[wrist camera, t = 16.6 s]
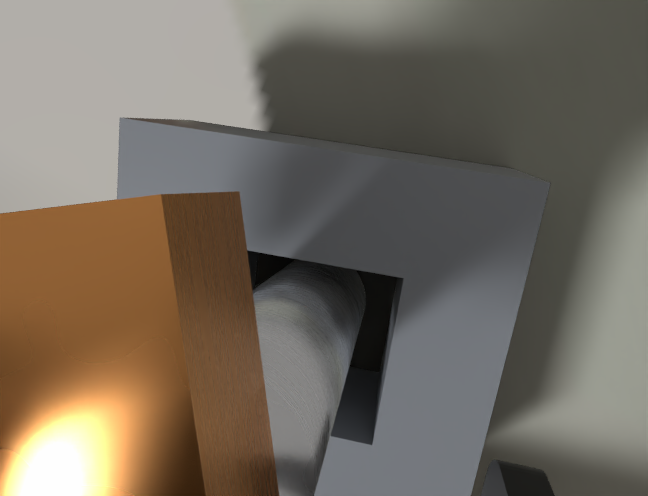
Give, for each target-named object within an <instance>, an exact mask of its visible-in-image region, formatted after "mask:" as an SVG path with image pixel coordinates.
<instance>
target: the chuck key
mask: <svg viewBox="0 0 648 496" xmlns="http://www.w3.org/2000/svg"><path fill="white" fill-rule="evenodd" d="M365 306H366V293H365V288H364V285H363V282H362V280H361V278H360V276H359V274H358V273H357V271H356V270H355V269H349V268H343V267H338V266H332V265H327V264H321V263H315V262H310V261H304V260H299V259H296V260H294V261H293V262H291V263H290V264H288V265H287V266H286V267H284V268H283V269H282V270H280V271H279V272H277V273H276V274H275V275H273V276H272V277H270V278H269V279H268V280H266V281H265V282H263V283H262V284H261V285H259V286H258V287H256V288H255V289H254V290H252V283H251V276H250V268H249V260H248V253H247V245H246V238H245V230H244V222H243V215H242V207H241V200H240V192H239V191H235V192H208V193H181V194H159V195H151V196H142V197H134V198H126V199H117V200H109V201H101V202H93V203H84V204H76V205H69V206H61V207H51V208H43V209H35V210H27V211H18V212H10V213H2V214H0V496H314V494H315V491H316V487H317V483H318V480H319V476H320V472H321V469H322V465H323V461H324V458H325V454H326V450H327V447H328V443H329V439H330V436H331V432H332V428H333V425H334V421H335V417H336V414H337V410H338V406H339V403H340V399H341V395H342V391H343V388H344V384H345V380H346V377H347V373H348V369H349V366H350V362H351V358H352V355H353V351H354V347H355V344H356V340H357V336H358V333H359V329H360V325H361V322H362V318H363V314H364V310H365Z"/></svg>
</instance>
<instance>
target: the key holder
mask: <svg viewBox="0 0 648 496" xmlns="http://www.w3.org/2000/svg"><path fill="white" fill-rule="evenodd" d="M119 127H120V129H119V157H118V188H117V199H126V198H134V197H142V196H151V195H159V194H181V193H208V192H235V191H239V192H240V200H241V207H242V215H243V222H244V230H245V238H246V245H247V253H248V260H249V268H250V276H251V283H252V290H254V288H255V279H256V270H257V261H258V252H259V253H265V254H271V255H276V256H282V257H287V258H293V259H299V260H304V261H310V262H315V263H321V264H327V265H332V266H338V267H343V268H349V269H355V270H360V271H366V272H371V273H377V274H383V275H388V276H394V277H397V281H396V286H395V291H394V297H393V302H392V308H391V313H390V318H389V324H388V329H387V335H386V340H385V345H384V351H383V356H382V362H381V367H380V372H375V371H370V370H365V369H360V368H355V367H350V366H349V369H348V373H347V377H346V380H345V384H344V388H343V391H342V395H341V399H340V403H339V406H338V410H337V414H336V417H335V421H334V425H333V428H332V432H331V436H330V439H329V443H328V447H327V450H326V454H325V458H324V461H323V465H322V469H321V472H320V476H319V480H318V483H317V487H316V491H315V494H314V496H471V493H472V489H473V485H474V481H475V478H476V474H477V470H478V466H479V462H480V458H481V454H482V450H483V446H484V442H485V438H486V435H487V431H488V427H489V423H490V419H491V415H492V411H493V407H494V403H495V399H496V395H497V391H498V388H499V384H500V380H501V376H502V372H503V368H504V364H505V360H506V356H507V352H508V348H509V344H510V341H511V337H512V333H513V329H514V325H515V321H516V317H517V313H518V309H519V305H520V301H521V297H522V294H523V290H524V286H525V282H526V278H527V274H528V270H529V266H530V262H531V258H532V254H533V250H534V247H535V243H536V239H537V235H538V231H539V227H540V223H541V219H542V215H543V211H544V207H545V204H546V200H547V196H548V192H549V188H550V184H551V183H550V182H547V181H545V180H542V179H539V178H537V177H534V176H531V175H529V174H526V173H523V172H521V171H518V170H515V169H512V168H506V167H500V166H493V165H486V164H480V163H473V162H466V161H460V160H453V159H446V158H439V157H433V156H426V155H419V154H413V153H406V152H399V151H393V150H386V149H379V148H372V147H366V146H359V145H352V144H346V143H339V142H332V141H326V140H319V139H312V138H305V137H299V136H292V135H285V134H279V133H272V132H265V131H259V130H252V129H245V128H238V127H231V126H225V125H218V124H212V123H205V122H198V121H191V120H172V119H144V118H120V126H119Z"/></svg>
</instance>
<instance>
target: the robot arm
mask: <svg viewBox="0 0 648 496" xmlns="http://www.w3.org/2000/svg"><path fill="white" fill-rule="evenodd" d="M481 496H555V495H554V493H553V490H552V488H551V486H550V483H549V481H548V478H547V476H546V474H545V473H544V471H542V470H540V469H536V468H531V467H526V466H522V465H517V464H513V463H508V462H503V461H499V460H492V462H491V463H490V465H489V467H488V470H487V474H486V478H485V481H484V485H483V489H482V493H481Z"/></svg>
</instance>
